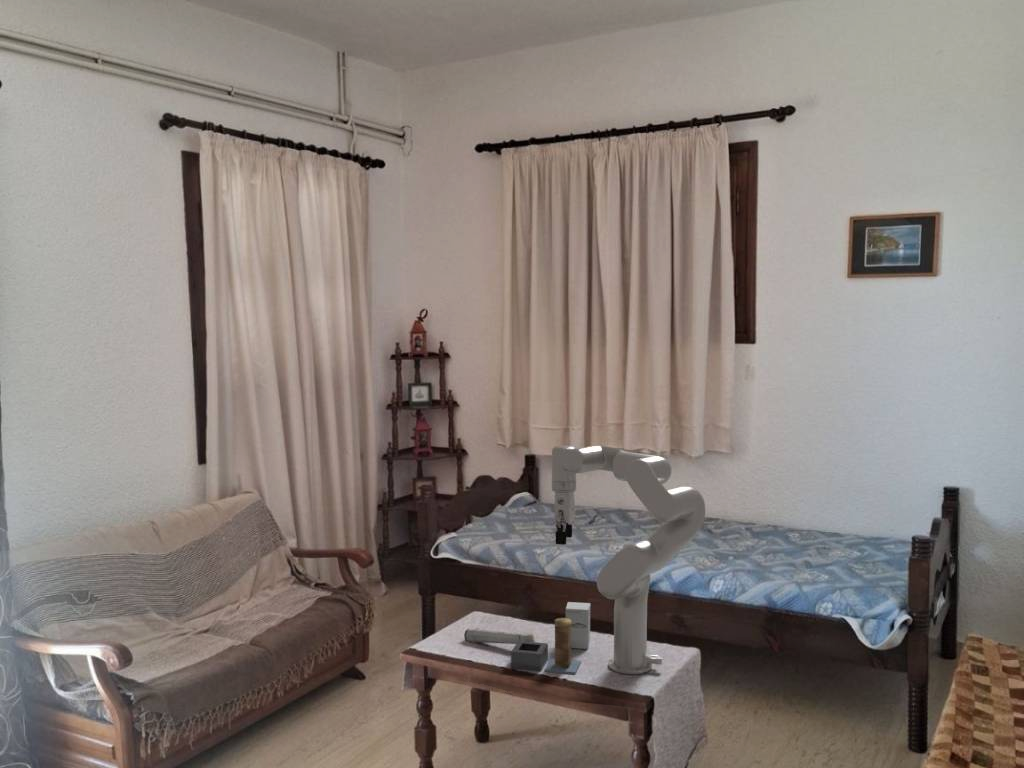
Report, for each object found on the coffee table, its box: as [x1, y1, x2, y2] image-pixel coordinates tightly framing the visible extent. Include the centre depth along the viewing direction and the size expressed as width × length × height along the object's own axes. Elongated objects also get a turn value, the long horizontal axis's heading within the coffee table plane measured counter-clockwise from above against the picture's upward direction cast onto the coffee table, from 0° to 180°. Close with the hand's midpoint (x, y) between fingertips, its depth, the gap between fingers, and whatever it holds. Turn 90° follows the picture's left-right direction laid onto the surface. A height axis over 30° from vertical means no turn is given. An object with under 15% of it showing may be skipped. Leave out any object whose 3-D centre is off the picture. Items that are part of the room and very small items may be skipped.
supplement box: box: [565, 601, 592, 650], centre depth 273 cm, size 7×7×13 cm
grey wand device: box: [464, 627, 536, 645], centre depth 272 cm, size 5×7×25 cm
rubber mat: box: [544, 657, 582, 675], centre depth 255 cm, size 9×9×1 cm
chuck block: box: [510, 641, 549, 672], centre depth 258 cm, size 9×9×5 cm
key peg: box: [554, 617, 572, 668], centre depth 255 cm, size 5×5×13 cm
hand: (563, 540), depth 270 cm, fingers open, 9 cm apart
